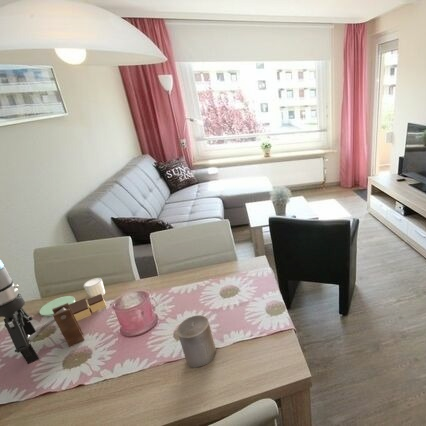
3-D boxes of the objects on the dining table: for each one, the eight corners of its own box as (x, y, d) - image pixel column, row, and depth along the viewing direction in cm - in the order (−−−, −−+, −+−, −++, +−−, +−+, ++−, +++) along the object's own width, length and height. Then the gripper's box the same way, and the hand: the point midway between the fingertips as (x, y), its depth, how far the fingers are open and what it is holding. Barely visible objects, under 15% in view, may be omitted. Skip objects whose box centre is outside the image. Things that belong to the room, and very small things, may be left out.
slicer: (27, 349, 96) (20, 346, 95) (27, 340, 100) (20, 336, 99) (70, 315, 102) (64, 312, 101) (68, 308, 106) (63, 304, 104)
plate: (40, 321, 119) (39, 319, 119) (40, 306, 128) (39, 305, 127) (77, 306, 127) (76, 304, 126) (74, 294, 135) (73, 292, 134)
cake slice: (93, 314, 122) (88, 304, 119) (91, 308, 125) (87, 299, 123) (107, 308, 125) (103, 299, 122) (105, 303, 128) (101, 293, 126)
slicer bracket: (61, 357, 103) (42, 322, 96) (59, 343, 108) (41, 310, 102) (95, 340, 109) (79, 307, 102) (92, 329, 114) (77, 297, 108)
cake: (68, 327, 115) (62, 317, 113) (66, 317, 121) (61, 307, 119) (92, 317, 120) (87, 307, 118) (89, 307, 126) (85, 298, 124)
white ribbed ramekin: (95, 301, 130) (90, 288, 127) (85, 298, 132) (79, 285, 129) (110, 291, 135) (105, 279, 133) (99, 288, 138) (94, 276, 135)
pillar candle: (203, 340, 107) (194, 308, 101) (222, 350, 102) (214, 318, 96) (180, 360, 99) (169, 327, 93) (199, 373, 94) (189, 338, 88)
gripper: (18, 313, 85) (49, 364, 94) (20, 277, 102) (46, 323, 111) (-19, 327, 80) (17, 380, 89) (-10, 287, 97) (19, 334, 106)
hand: (33, 348), depth 100 cm, fingers open, 13 cm apart
